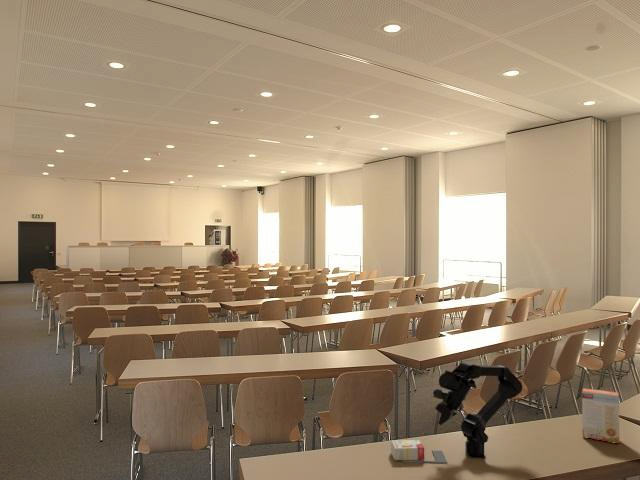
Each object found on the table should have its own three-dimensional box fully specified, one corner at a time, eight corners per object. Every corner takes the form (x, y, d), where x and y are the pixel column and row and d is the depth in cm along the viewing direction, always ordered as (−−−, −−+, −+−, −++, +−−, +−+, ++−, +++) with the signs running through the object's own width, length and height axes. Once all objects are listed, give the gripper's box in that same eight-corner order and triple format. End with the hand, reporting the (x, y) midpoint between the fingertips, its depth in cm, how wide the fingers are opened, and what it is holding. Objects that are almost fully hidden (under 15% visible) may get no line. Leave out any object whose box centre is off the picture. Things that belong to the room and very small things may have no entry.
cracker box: (619, 440, 217) (619, 392, 217) (619, 445, 212) (618, 395, 212) (583, 433, 224) (583, 387, 224) (582, 438, 219) (581, 390, 219)
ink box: (424, 447, 195) (394, 448, 194) (424, 460, 195) (394, 461, 194) (419, 439, 203) (390, 439, 203) (419, 451, 203) (390, 452, 203)
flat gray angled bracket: (442, 451, 204) (442, 450, 204) (447, 463, 193) (447, 462, 193) (400, 450, 205) (400, 449, 205) (403, 462, 194) (403, 461, 194)
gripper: (449, 377, 211) (431, 407, 214) (434, 383, 196) (415, 415, 198) (472, 394, 206) (453, 424, 208) (459, 401, 190) (438, 434, 193)
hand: (439, 424), depth 202 cm, fingers closed
